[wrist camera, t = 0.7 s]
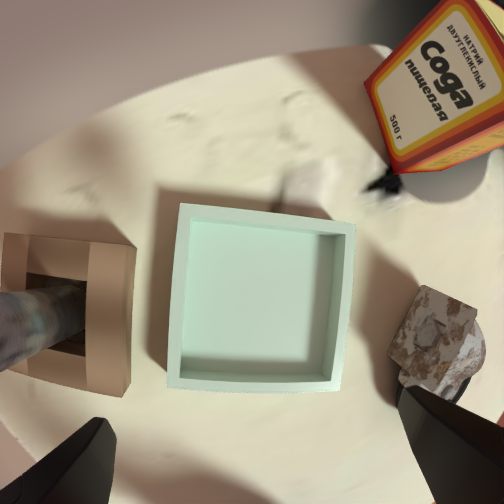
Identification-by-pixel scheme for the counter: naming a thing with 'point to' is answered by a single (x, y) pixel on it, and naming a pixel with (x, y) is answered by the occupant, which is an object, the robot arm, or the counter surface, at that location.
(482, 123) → the baking soda box
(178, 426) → the counter surface
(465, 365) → the caster wheel
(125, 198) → the counter surface
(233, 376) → the tray
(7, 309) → the pin
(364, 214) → the counter surface
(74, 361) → the block
